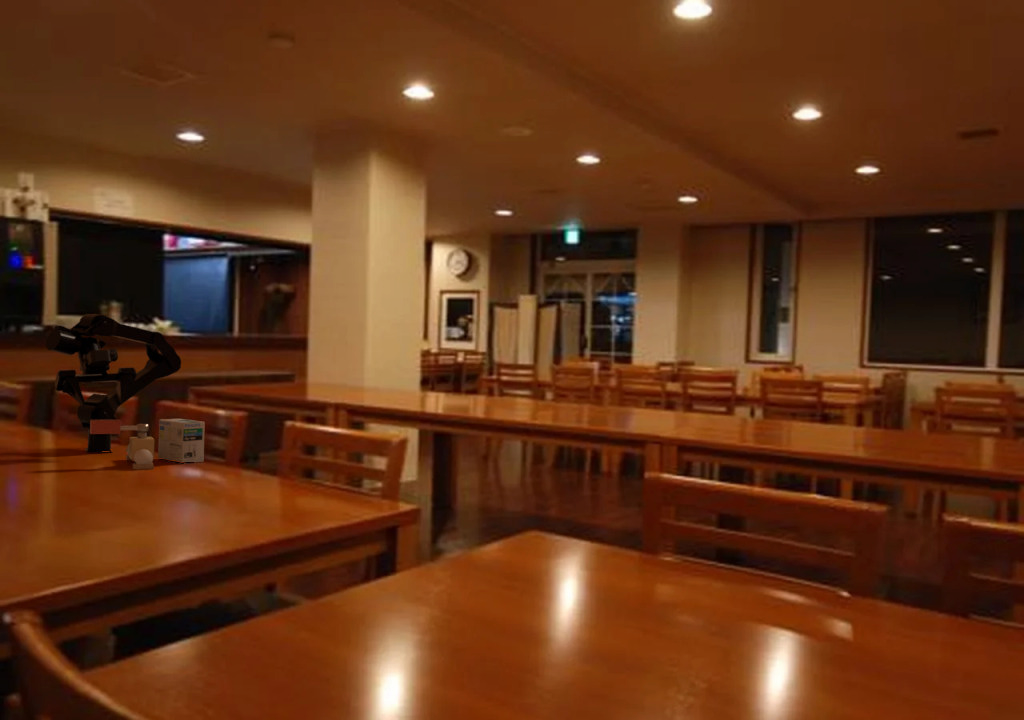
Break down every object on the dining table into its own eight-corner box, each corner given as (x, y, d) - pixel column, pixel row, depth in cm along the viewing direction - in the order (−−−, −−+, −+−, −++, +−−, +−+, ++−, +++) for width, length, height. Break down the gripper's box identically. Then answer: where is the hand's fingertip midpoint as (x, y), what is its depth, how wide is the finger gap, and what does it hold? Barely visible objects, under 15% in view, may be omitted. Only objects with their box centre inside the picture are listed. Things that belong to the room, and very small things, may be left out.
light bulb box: (204, 462, 214) (206, 421, 214) (182, 464, 208) (183, 422, 208) (178, 457, 220) (180, 417, 220) (156, 459, 214) (158, 418, 214)
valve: (124, 459, 211) (125, 426, 211) (144, 458, 214) (146, 426, 214) (132, 469, 197) (133, 434, 197) (154, 468, 199) (156, 434, 199)
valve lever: (89, 432, 198) (90, 419, 198) (147, 432, 204) (148, 419, 204) (90, 434, 195) (91, 420, 195) (149, 433, 202) (149, 420, 202)
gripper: (56, 338, 206) (69, 387, 199) (134, 337, 219) (148, 383, 212) (49, 366, 213) (61, 414, 206) (125, 363, 225) (138, 408, 218)
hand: (103, 404), depth 210 cm, fingers open, 9 cm apart
